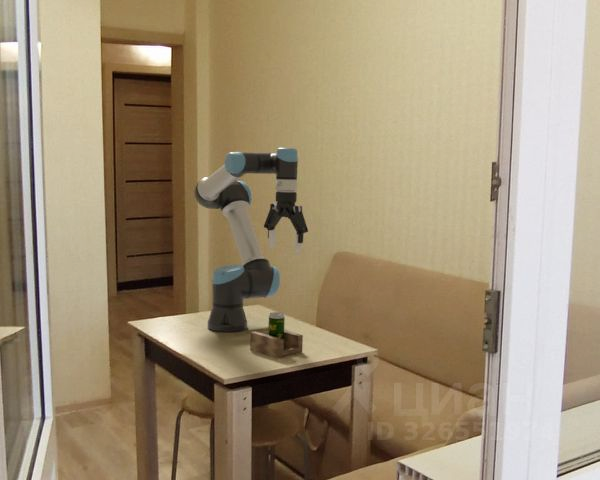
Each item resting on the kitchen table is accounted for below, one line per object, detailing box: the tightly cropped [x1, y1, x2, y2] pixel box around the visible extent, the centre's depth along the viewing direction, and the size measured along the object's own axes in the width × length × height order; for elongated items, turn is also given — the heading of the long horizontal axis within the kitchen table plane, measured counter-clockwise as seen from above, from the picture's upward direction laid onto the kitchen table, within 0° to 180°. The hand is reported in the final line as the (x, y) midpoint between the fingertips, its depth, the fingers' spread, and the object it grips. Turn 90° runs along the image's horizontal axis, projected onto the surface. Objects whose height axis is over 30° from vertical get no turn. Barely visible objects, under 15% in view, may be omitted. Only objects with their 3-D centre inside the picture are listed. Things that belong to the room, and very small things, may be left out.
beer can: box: [267, 311, 286, 340], centre depth 231 cm, size 5×5×12 cm
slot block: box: [249, 329, 304, 360], centre depth 232 cm, size 14×11×6 cm
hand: (284, 250), depth 249 cm, fingers open, 13 cm apart
